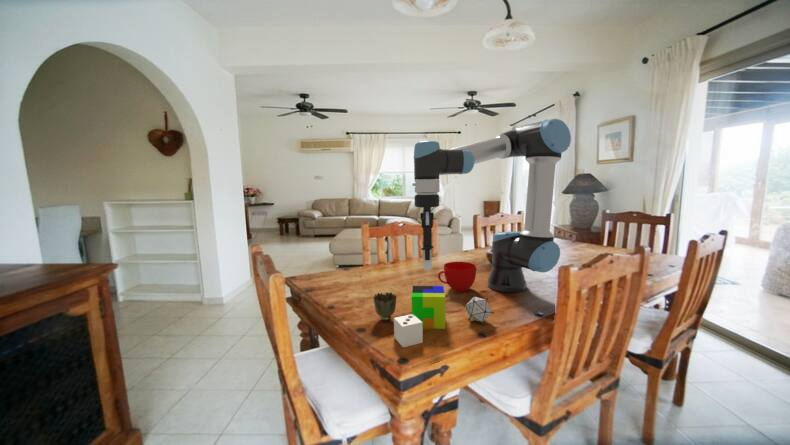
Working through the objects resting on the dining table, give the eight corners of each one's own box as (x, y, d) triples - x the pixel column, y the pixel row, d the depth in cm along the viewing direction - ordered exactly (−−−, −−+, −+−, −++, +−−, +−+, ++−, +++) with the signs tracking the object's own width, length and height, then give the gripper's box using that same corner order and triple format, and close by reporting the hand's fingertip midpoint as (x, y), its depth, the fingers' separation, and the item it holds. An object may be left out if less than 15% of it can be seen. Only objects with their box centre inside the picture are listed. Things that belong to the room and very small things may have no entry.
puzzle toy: (443, 314, 103) (443, 286, 101) (445, 328, 93) (445, 297, 92) (413, 314, 104) (412, 285, 102) (412, 328, 94) (411, 296, 93)
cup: (396, 314, 104) (396, 291, 103) (397, 324, 96) (396, 299, 95) (374, 315, 104) (373, 292, 103) (373, 325, 96) (373, 300, 95)
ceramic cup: (429, 288, 128) (429, 265, 127) (462, 282, 135) (462, 260, 134) (447, 298, 116) (447, 273, 115) (482, 291, 123) (483, 267, 122)
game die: (477, 335, 96) (467, 317, 91) (465, 315, 103) (454, 297, 98) (502, 320, 96) (493, 301, 90) (488, 301, 103) (479, 283, 98)
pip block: (413, 333, 91) (412, 313, 90) (422, 342, 85) (422, 321, 84) (394, 337, 88) (393, 317, 88) (403, 347, 83) (402, 326, 82)
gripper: (414, 193, 100) (415, 264, 103) (413, 194, 87) (414, 275, 90) (438, 193, 99) (438, 264, 102) (440, 194, 86) (440, 275, 89)
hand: (427, 269), depth 96 cm, fingers closed
